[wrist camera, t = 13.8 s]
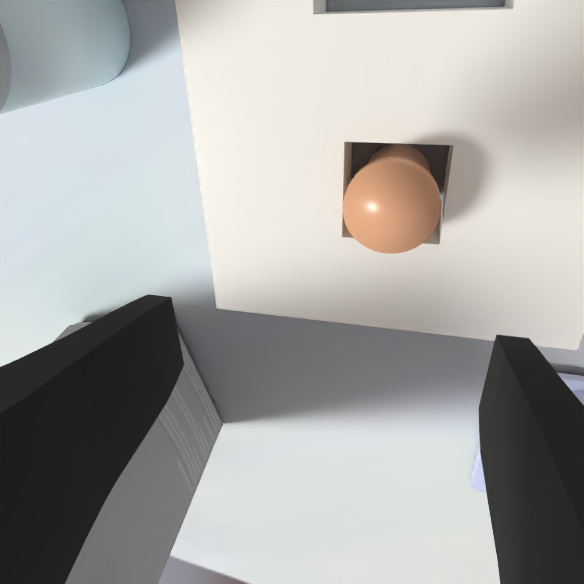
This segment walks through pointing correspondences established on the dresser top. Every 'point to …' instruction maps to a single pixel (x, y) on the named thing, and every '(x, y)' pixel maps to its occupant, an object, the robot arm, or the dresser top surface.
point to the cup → (59, 48)
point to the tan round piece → (393, 201)
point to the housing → (393, 129)
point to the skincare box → (151, 488)
